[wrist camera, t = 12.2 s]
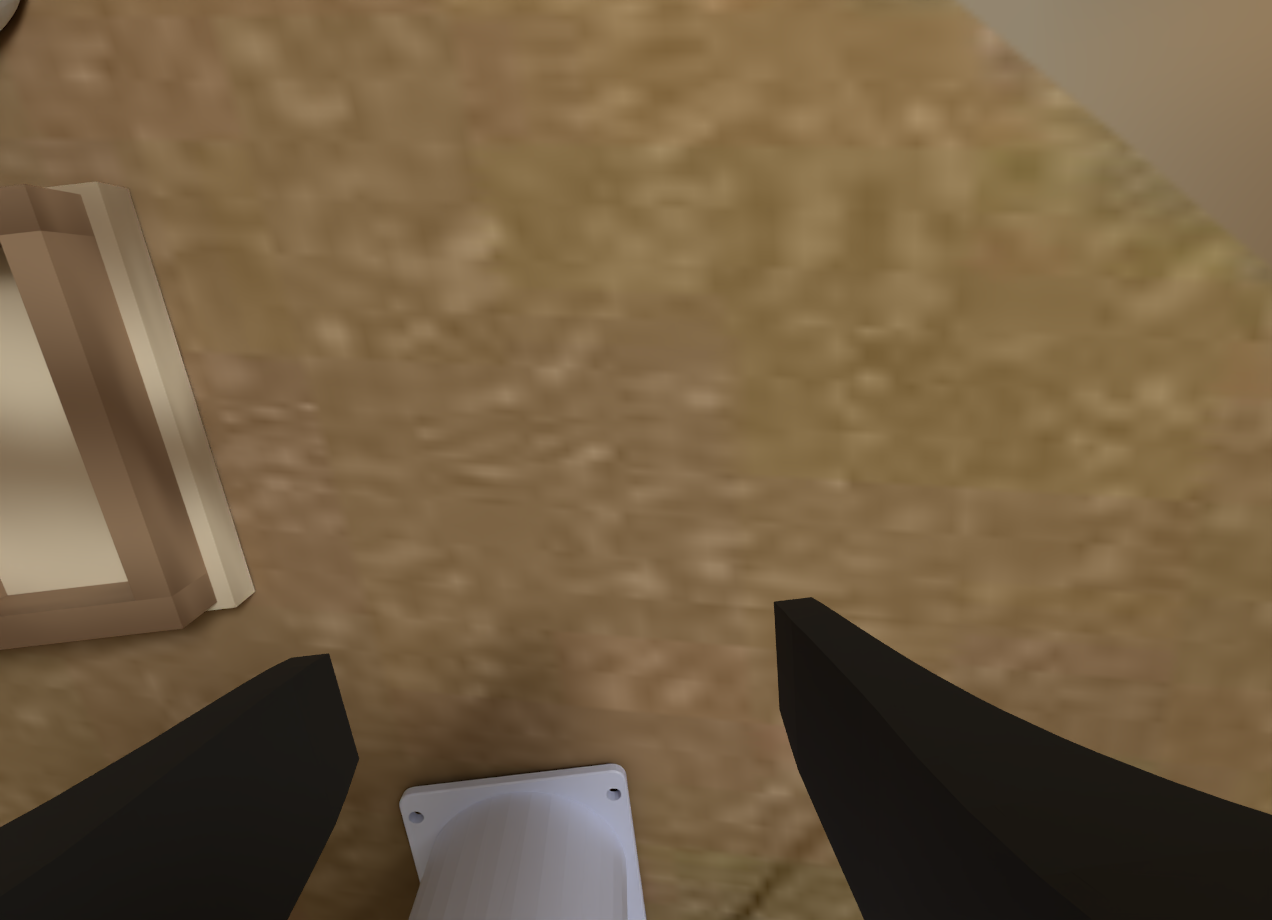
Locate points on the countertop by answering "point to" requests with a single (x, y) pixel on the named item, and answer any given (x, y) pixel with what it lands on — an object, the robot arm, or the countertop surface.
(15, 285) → the notch rack
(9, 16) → the supplement bottle
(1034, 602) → the countertop surface
